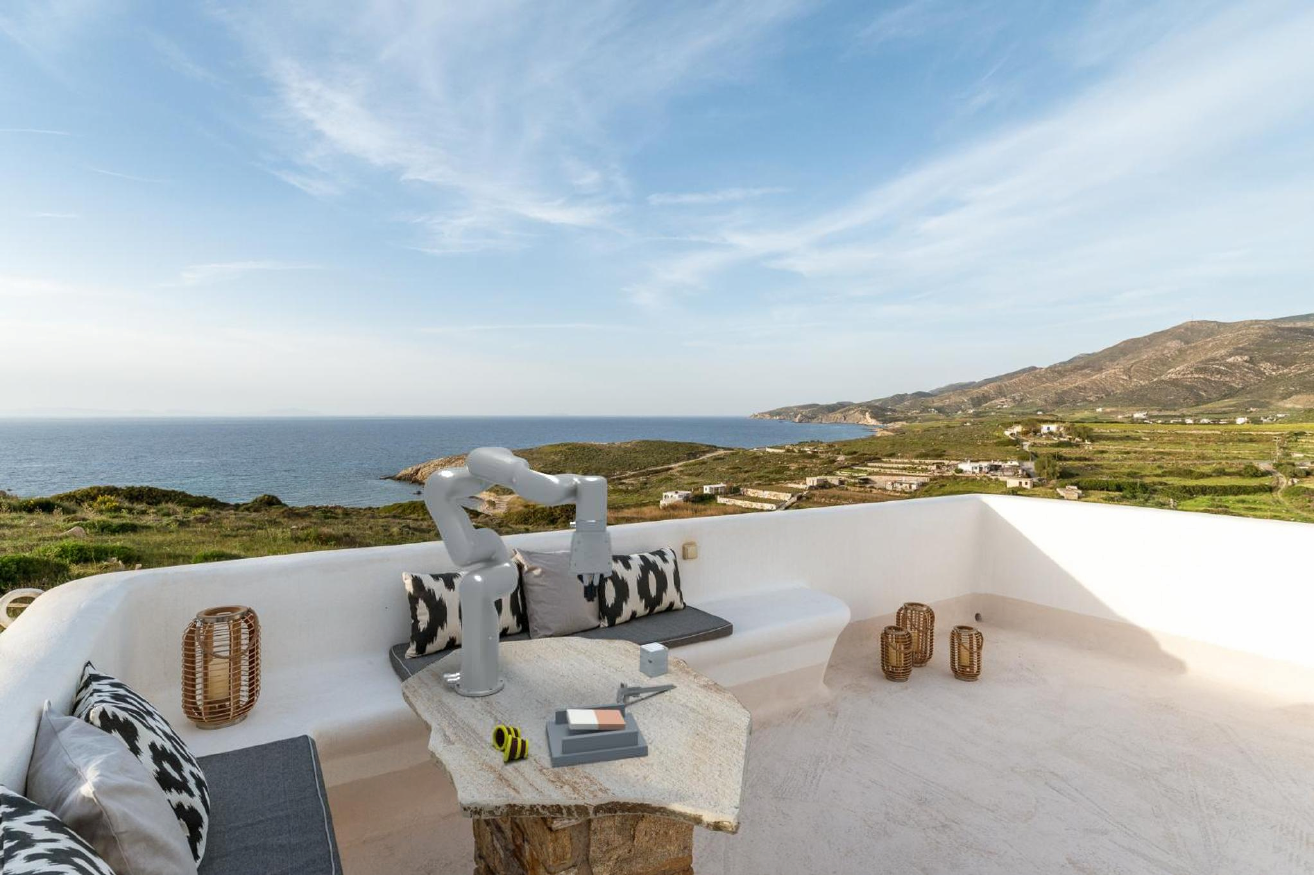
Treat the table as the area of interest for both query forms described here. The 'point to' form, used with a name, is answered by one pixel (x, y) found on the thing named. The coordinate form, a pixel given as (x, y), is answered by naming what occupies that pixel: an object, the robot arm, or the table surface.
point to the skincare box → (653, 659)
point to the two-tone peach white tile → (595, 719)
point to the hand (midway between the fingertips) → (590, 600)
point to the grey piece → (593, 739)
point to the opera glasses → (510, 742)
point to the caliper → (639, 691)
